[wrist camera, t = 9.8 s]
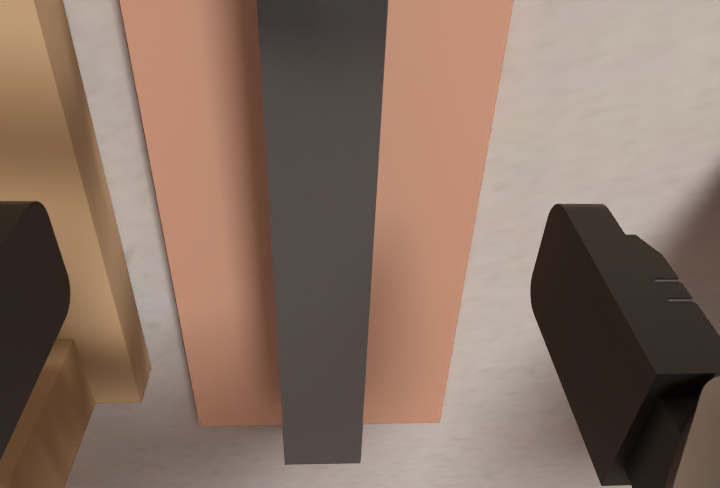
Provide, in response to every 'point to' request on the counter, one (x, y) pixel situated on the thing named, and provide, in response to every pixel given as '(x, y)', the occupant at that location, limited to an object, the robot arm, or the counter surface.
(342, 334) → the rail
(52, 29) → the rail stand
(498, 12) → the mat
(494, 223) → the counter surface
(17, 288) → the robot arm
